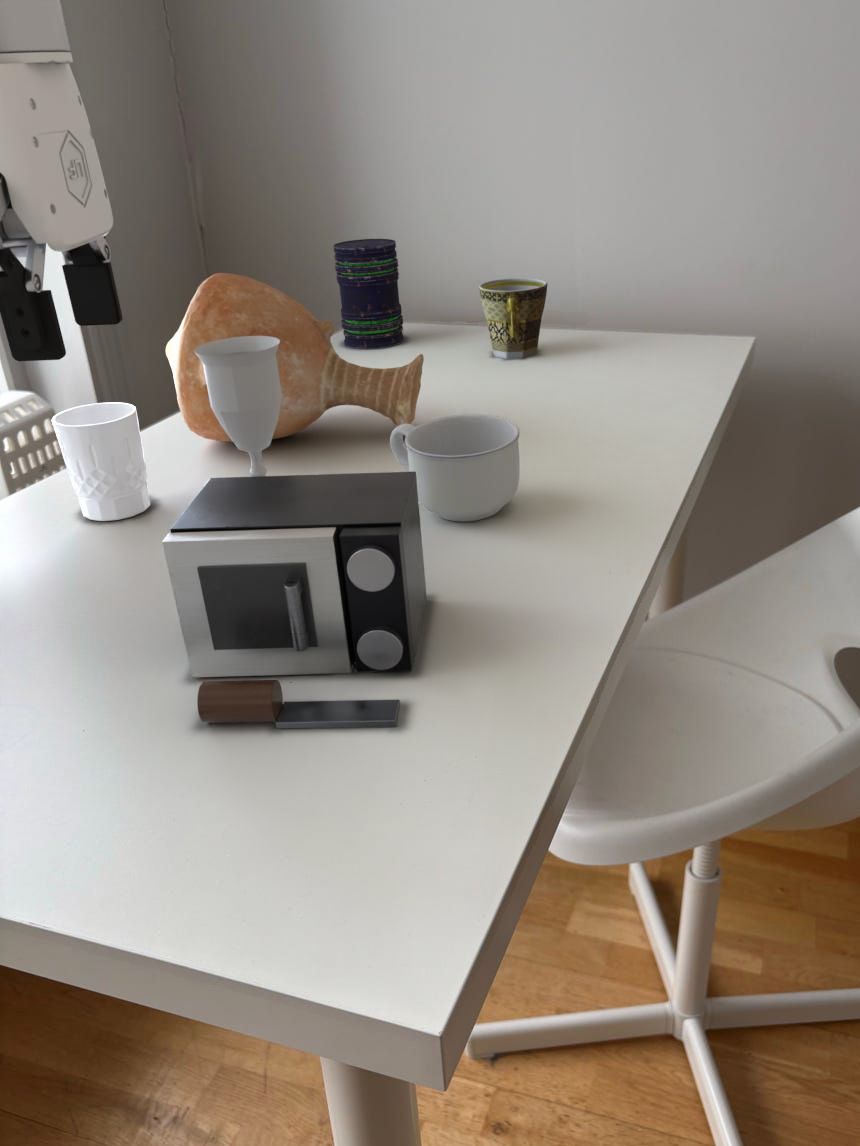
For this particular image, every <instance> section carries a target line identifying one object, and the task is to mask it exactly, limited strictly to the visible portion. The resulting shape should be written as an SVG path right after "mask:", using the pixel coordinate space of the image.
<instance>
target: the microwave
mask: <svg viewBox="0 0 860 1146" xmlns="http://www.w3.org/2000/svg"><path fill="white" fill-rule="evenodd" d="M416 481H417V479H416V472H415V471H413V472H409V471H388V472H387V471H385V472H383V471H381V472H357V473H355V472H354V473H325V474H324V473H323V474H319V473H318V474H295V475H294V474H293V475H290V474H289V475H266V476H256V477H252V476H229V477H228V476H227V477H226V476H225V477H209V479H208V480H207V482H206V483H205V484H204V486H203V487H202V488H201V489H200V491H199V492H198V493H197V494H196V495H195V496H194V498H193V499H192V501H191V502H190V503H189V504H188V505H187V507H186V509H185V510H183V512H182V513H181V515H180V516H179V517H178V519H177V520H176V521H175V522H174V523H173V525H172V526H171V528H170V529H169V530H170V533H180V532H209V531H237V530H265V529H293V528H322V527H336V528H337V534H338V542H339V550H340V558H341V565H342V573H343V581H344V589H345V596H346V604H347V612H348V620H349V627H350V635H351V643H352V651H353V658H354V663H353V664H355V670H356V672H357V673H361V672H362V673H363V672H365V673H366V672H368V673H369V672H411V671H413V666H414V662H415V659H416V655H417V650H418V645H419V639H420V634H421V630H422V624H423V619H424V616H425V615H424V614H425V610H426V606H427V601H428V599H427V586H426V575H425V574H426V573H425V563H424V551H423V550H424V549H423V539H422V527H421V516H420V502H419V501H418V491H417V482H416Z"/></svg>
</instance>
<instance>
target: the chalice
mask: <svg viewBox="0 0 860 1146" xmlns="http://www.w3.org/2000/svg"><path fill="white" fill-rule="evenodd" d="M279 343H280V340H279V339H277V338H274V337H270V336H243V337H233V338H227V339H221V340H216V341H212V342H208V343H205V344H202V345H200V346H198V347H197V348H195V350H194V352H195V353H196V355H197V356H198V357H199V359H200V360H201V361H202V363H203V367H204V372H205V378H206V383H207V389H208V394H209V399H210V405H211V408H212V410H213V412H214V413H215V415H216V417H217V419H218V421H219V422H220V424H221V426H222V427H223V429H224V430H225V431H226V433H227V434H228V435H229V437H230V438H231V440H232V441H233V442H232V443H233V444H234V445H235V446H236V448H237V449H238V450H239V451H240V452H246V453H248V456H249V458H250V460H251V461H250V462H251V464H250V470H249V473H248V474H249V475H250V476H251V477H256V476H267V473H268V468H266V467H265V464H264V461H263V460H262V452H263V451H264V450H265V449H267V448H269V447H270V446H271V443H272V441H273V439H272V437H273V434H274V431H275V428H276V425H277V422H278V417H279V412H280V406H281V400H282V392H281V386H280V379H279V372H278V366H277V359H276V352H277V349H278V346H279Z"/></svg>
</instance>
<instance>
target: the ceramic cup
mask: <svg viewBox="0 0 860 1146" xmlns="http://www.w3.org/2000/svg"><path fill="white" fill-rule="evenodd" d="M478 290H479V295H480V296H479V297H480V300H481V301H480V302H481V304H482V310H483V313H484V316H485V318H486V323H487V329H488V334H489V339H490V342H491V348H492V353H493V356H494V357H496V358H500V359H504V360H521V359H526V358H530V357H533V356H536V354H537V353H538V347H539V339H540V331H541V326H542V325H541V324H542V319H543V314H544V310H545V304H546V300H547V294H548V293H547V292H548V282H547V281H546V280H543V279H540V278H539V279H538V278H531V277H530V278H529V277H513V278H512V277H511V278H501V279H493V280H490V281H486V282H483V283H481V284H479V285H478Z"/></svg>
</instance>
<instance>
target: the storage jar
mask: <svg viewBox="0 0 860 1146" xmlns="http://www.w3.org/2000/svg"><path fill="white" fill-rule="evenodd" d="M396 248H397V241H396V240H394V239H390V238H362V239H352V240H346V241H340V242H337V243H335V244H333V252H334V261H335V262H334V270H335V272H336V282H337V284H338V285H339V295H340V304H341V308H340V316H341V320H340V321H341V328H342V329H343V330H342V333H343V336H344V340H343V342H344V343H343V344H344V346H345V347H347V348H350V349H357V350H373V349H376V350H377V349H384V348H389V347H394V346H398V345H399V344H402V343H403V342H404V341H405V336H404V334H403V333H404V332H403V331H404V326H403V325H404V317H403V314H402V311H403V310H402V305H401V303H400V294H399V283H398V281H399V279H400V277H399V276H400V272H399V268H398V267H399V260H398V258H397V257H398V254H397V250H396Z"/></svg>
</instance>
